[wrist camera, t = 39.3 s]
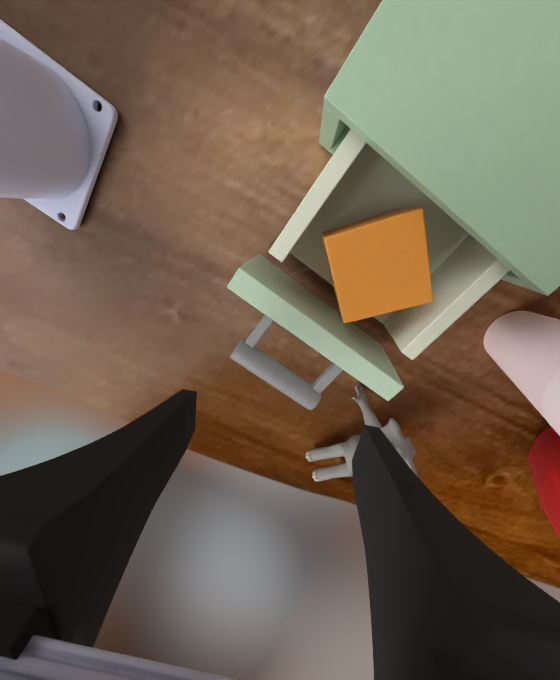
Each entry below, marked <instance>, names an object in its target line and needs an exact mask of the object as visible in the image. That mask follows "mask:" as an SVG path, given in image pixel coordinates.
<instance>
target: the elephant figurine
mask: <svg viewBox="0 0 560 680" xmlns="http://www.w3.org/2000/svg"><path fill="white" fill-rule="evenodd" d="M355 389H356V392H357V397H352V399H354V400H355V401H356V402H357V403H358V404H359V406H360V408H361V410H362V412H363V417H364V422H365V425H369V426H374V427H379V428H380V429H381V430H382V432H383V433H384V434H385V436H386V437H387V438H388V440H389V441H390V442H391V444H392V445H393V446H394V448H395V449H396V450H397V451H398V453H399V454H400V455H401V457H402V458H403V459H404V461H405V462H406V463H407V464H408V466H409V467H410V468H411V469H412V471H413V472H414V473H415V474H416V475H417V477H418V472H417V470H416V468H415V466H414V464H413V461H412V458H414V457H415V456H416V451H415V448H414V446H413V444H412V442H411V440H410V439H409V438H408V437H403V436H402V433H401V429H400V427H399V425H398V423H397V422H396V421H395V420H394V419H392V418H390V419H389V423H388V424H387V425H386V426H384V427H382V426H381V424H380V422H379V420H378V419H377V417H376V416H375V414H374V413H373V412H372V410H371V409H370V406H369V404H368V397H367V395H366V393H365V392H364V391H363V388H362V387H360V385H358V384H357V385H356V386H355ZM360 436H361V434H357V435H353V436H351V437H350V438H349V439H348V440H347V441H346V442H341V443H338V444H335V445H331V446H327V447H321V448H314V449H310V450H308V451H307V452H306V455H307V456H306V458H307V459H308V461H311V462H313V461H317V460H322V459H328V458H334V457H342V456H345V460H346V463H342V464H338V465H333V466H328V467H322V468H317V469H315V470H314V472H313V478H314V480H315V481H324V480H328V479H331V478H339V477H350V476H353V475H352V458H353V455H354V453H355V450H356V447H357V444H358V442H359V439H360ZM418 478H419V477H418Z"/></svg>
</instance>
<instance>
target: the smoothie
mask: <svg viewBox="0 0 560 680" xmlns="http://www.w3.org/2000/svg"><path fill="white" fill-rule="evenodd" d="M483 343H484V348H485V350H486V352H487V353H488V354H489V355H490V356H491V358H492V359H493V360H494V361H495V362H496V363H497V364H498V366H499V367H500V368H501V369H502V370H503V371H504V372H505V374H506V375H507V376H508V377H509V378H510V379H511V380H512V382H513V383H514V384H515V385H516V386H517V387H518V388H519V390H520V391H521V392H522V393H523V394H524V395H525V397H526V398H527V399H528V400H529V401H530V402H531V403H532V405H533V406H534V407H535V408H536V409H537V410H538V411H539V413H540V414H541V415H542V416H543V417H544V418H545V419H546V421H547V422H548V423H549V425H550V426H551V427H552V428H553V429H554V430H555V431H556V432H557V433H558V434H559V436H560V319H556V318H552V317H548V316H544V315H541V314H537V313H533V312H529V311H513V312H509V313H507V314H504V315H502V316H501V317H499V318H498V319H496V320H495V321H494V322H493V323H492V324H491V325H490V326H489V327H488V329H487V331H486V333H485V335H484V341H483Z"/></svg>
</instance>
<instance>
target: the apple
mask: <svg viewBox="0 0 560 680" xmlns="http://www.w3.org/2000/svg"><path fill="white" fill-rule="evenodd" d="M527 458H528V461H529V465H530V469H531V472H532V476H533V480H534V483H535V487H536V490H537V494H538V498H539V501H540V505H541V507H542V509H543V511H544V512H545V514H546V516H547V518H548V520H549V522H550V524H551V525H552V527H553V529H554V531H555V533H556V535H557V537H558V538H559V540H560V436H559V434H558V433H557V432H556V431H555V430H554V429H553V428H552V427H551V426H550V425H549V424H548V425H547V426H546V428H545V429H544V430H543V431H542V432H541V433H540V434H539V436H538V437H537V438H536V439H535V441H534V442H533V444H532V446H531V449H530V451H529V453H528V456H527Z"/></svg>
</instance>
